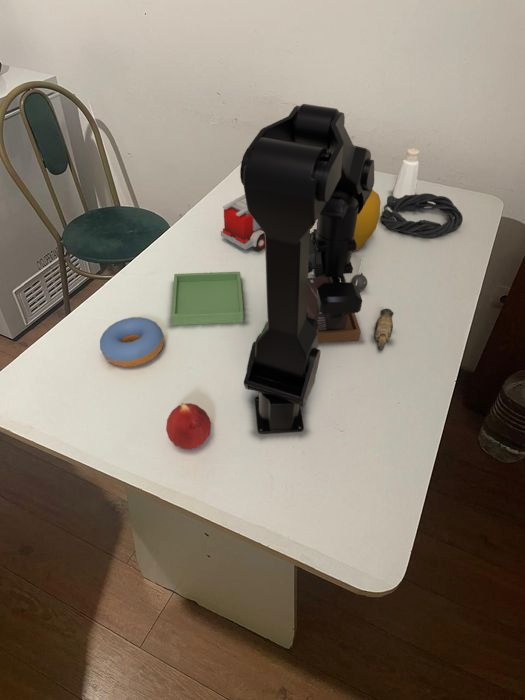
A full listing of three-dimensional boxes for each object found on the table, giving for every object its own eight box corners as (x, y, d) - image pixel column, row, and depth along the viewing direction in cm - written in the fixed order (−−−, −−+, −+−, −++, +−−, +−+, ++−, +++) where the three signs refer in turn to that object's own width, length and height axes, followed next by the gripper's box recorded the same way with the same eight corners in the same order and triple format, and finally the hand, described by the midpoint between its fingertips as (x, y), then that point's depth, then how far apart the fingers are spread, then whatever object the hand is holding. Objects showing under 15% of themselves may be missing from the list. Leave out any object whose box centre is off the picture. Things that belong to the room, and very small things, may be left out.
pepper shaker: (418, 194, 124) (429, 148, 116) (410, 203, 121) (420, 157, 113) (397, 188, 126) (406, 143, 119) (388, 197, 123) (397, 151, 115)
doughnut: (98, 339, 85) (92, 317, 82) (158, 325, 88) (154, 304, 85) (107, 380, 79) (101, 359, 75) (171, 364, 81) (168, 343, 78)
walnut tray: (359, 340, 86) (360, 331, 84) (298, 343, 85) (299, 334, 84) (346, 302, 93) (348, 293, 92) (291, 305, 93) (291, 295, 91)
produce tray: (243, 322, 89) (243, 312, 87) (172, 325, 88) (171, 315, 87) (240, 280, 98) (239, 271, 96) (175, 282, 97) (174, 273, 95)
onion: (212, 426, 73) (209, 388, 67) (211, 460, 68) (207, 423, 63) (171, 426, 72) (165, 388, 67) (167, 461, 68) (160, 423, 63)
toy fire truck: (307, 224, 113) (311, 181, 106) (247, 258, 103) (247, 213, 96) (277, 210, 117) (279, 167, 110) (217, 241, 107) (214, 197, 101)
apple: (383, 254, 105) (395, 195, 96) (336, 264, 102) (344, 205, 93) (357, 228, 112) (366, 171, 103) (312, 237, 109) (317, 179, 100)
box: (313, 334, 86) (316, 299, 81) (301, 312, 90) (304, 278, 85) (346, 328, 87) (352, 294, 82) (333, 306, 91) (338, 272, 86)
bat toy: (343, 312, 91) (347, 291, 88) (355, 265, 102) (359, 245, 98) (360, 315, 91) (364, 294, 87) (370, 268, 101) (374, 247, 98)
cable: (462, 215, 117) (467, 197, 114) (456, 247, 107) (462, 228, 104) (386, 202, 121) (390, 184, 118) (375, 231, 111) (378, 213, 108)
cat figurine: (392, 322, 89) (396, 307, 85) (387, 360, 84) (391, 345, 81) (376, 319, 89) (379, 304, 86) (370, 356, 85) (373, 342, 82)
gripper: (275, 202, 83) (272, 281, 94) (289, 268, 70) (284, 351, 80) (343, 200, 84) (333, 278, 95) (370, 266, 70) (354, 348, 81)
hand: (325, 311), depth 88 cm, fingers open, 9 cm apart
